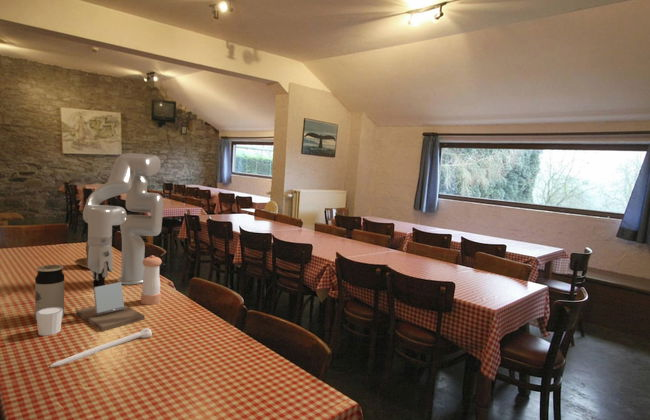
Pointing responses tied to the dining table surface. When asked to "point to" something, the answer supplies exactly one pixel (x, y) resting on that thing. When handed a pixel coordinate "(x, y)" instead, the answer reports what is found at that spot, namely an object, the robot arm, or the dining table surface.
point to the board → (110, 317)
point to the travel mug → (49, 288)
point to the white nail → (104, 347)
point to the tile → (108, 298)
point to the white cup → (49, 320)
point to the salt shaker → (151, 281)
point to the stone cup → (84, 261)
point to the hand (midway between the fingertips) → (98, 289)
